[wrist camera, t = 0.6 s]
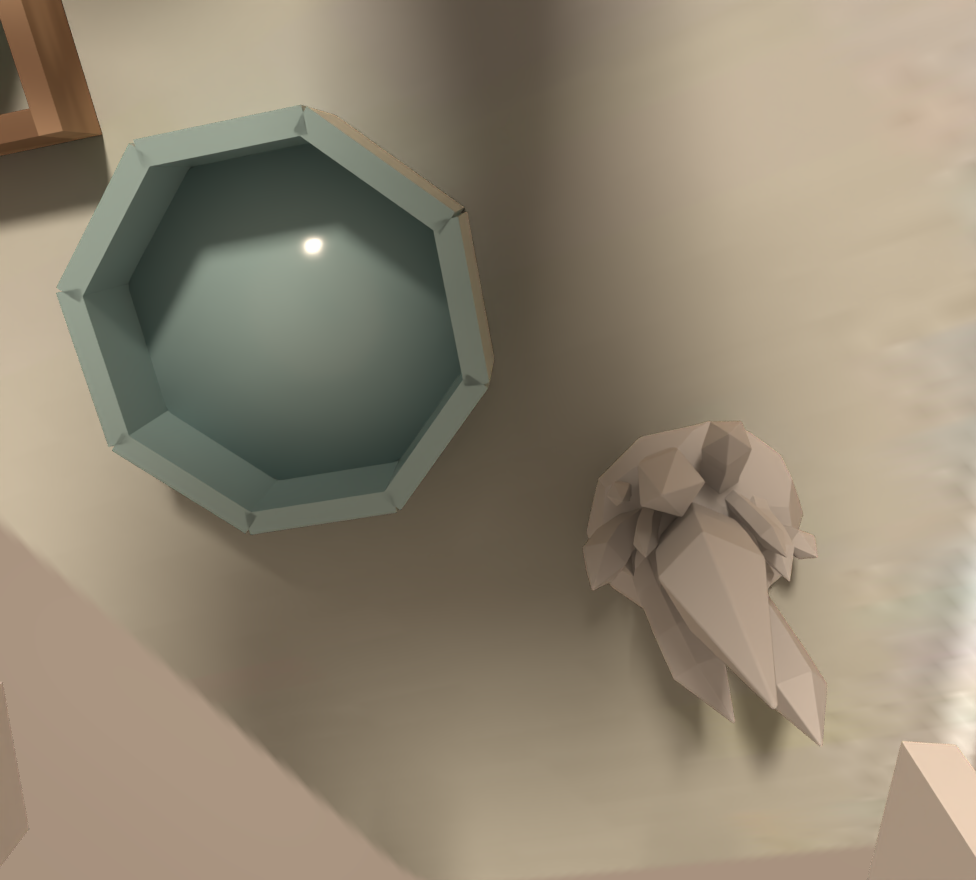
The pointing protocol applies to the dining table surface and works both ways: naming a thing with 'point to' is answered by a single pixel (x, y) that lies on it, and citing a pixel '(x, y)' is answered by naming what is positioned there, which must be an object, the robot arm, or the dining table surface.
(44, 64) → the rectangular frame
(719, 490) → the crystal
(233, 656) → the dining table surface
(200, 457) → the bowl
